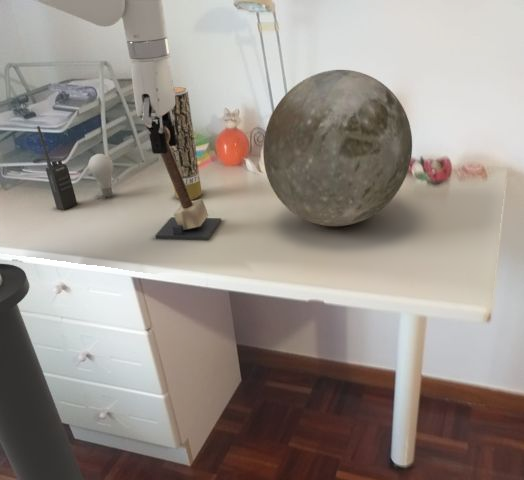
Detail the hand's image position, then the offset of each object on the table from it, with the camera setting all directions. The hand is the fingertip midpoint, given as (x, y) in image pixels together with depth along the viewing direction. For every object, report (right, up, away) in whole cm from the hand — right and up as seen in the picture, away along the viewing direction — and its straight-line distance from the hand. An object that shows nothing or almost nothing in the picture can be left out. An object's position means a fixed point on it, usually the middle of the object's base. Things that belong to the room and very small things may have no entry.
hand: (165, 148), depth 117 cm
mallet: (-1, -5, +4) cm, 6 cm away
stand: (+3, -15, +10) cm, 18 cm away
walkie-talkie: (-29, -5, +28) cm, 41 cm away
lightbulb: (-20, -2, +31) cm, 37 cm away
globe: (+36, -13, +8) cm, 40 cm away
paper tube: (+1, -3, +27) cm, 27 cm away
